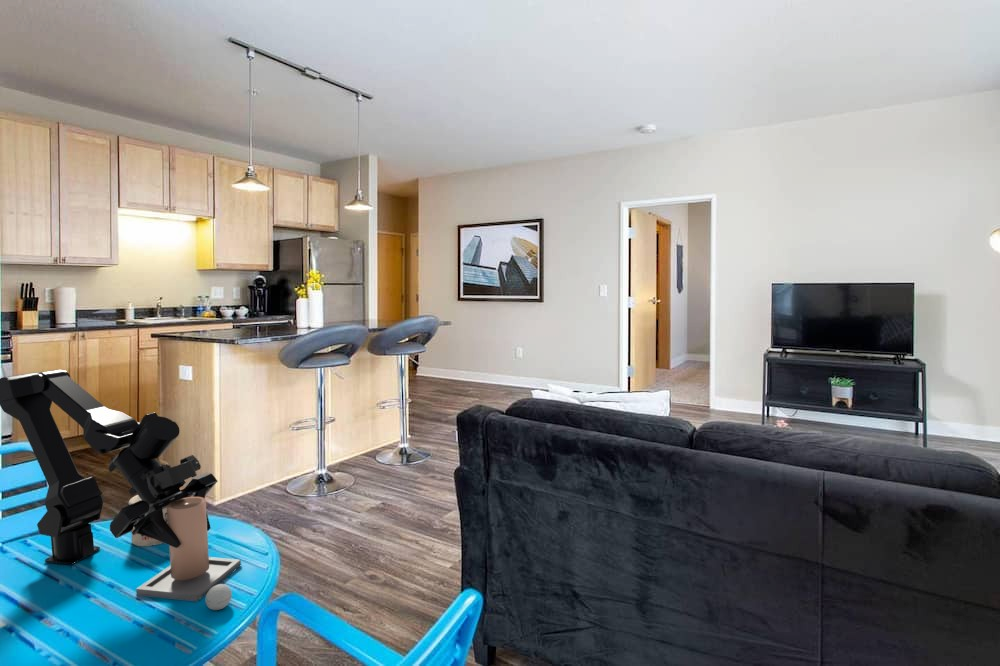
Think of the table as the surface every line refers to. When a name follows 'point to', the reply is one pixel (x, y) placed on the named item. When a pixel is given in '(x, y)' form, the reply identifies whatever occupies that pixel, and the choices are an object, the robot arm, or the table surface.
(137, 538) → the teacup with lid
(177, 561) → the terracotta cup
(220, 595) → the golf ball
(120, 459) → the robot arm
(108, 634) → the table surface
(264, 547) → the table surface
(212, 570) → the charcoal tray
